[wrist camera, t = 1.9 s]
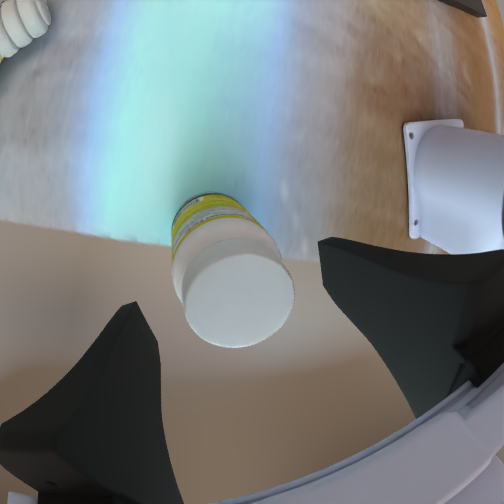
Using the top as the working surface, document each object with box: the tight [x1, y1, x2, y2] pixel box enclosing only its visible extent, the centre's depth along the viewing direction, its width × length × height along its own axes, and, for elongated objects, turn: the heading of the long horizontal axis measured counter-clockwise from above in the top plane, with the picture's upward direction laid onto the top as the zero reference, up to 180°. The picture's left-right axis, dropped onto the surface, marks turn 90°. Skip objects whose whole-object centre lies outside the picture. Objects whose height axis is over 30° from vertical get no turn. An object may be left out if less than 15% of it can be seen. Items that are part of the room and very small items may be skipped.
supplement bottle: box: [172, 192, 295, 348], centre depth 14 cm, size 5×5×8 cm
